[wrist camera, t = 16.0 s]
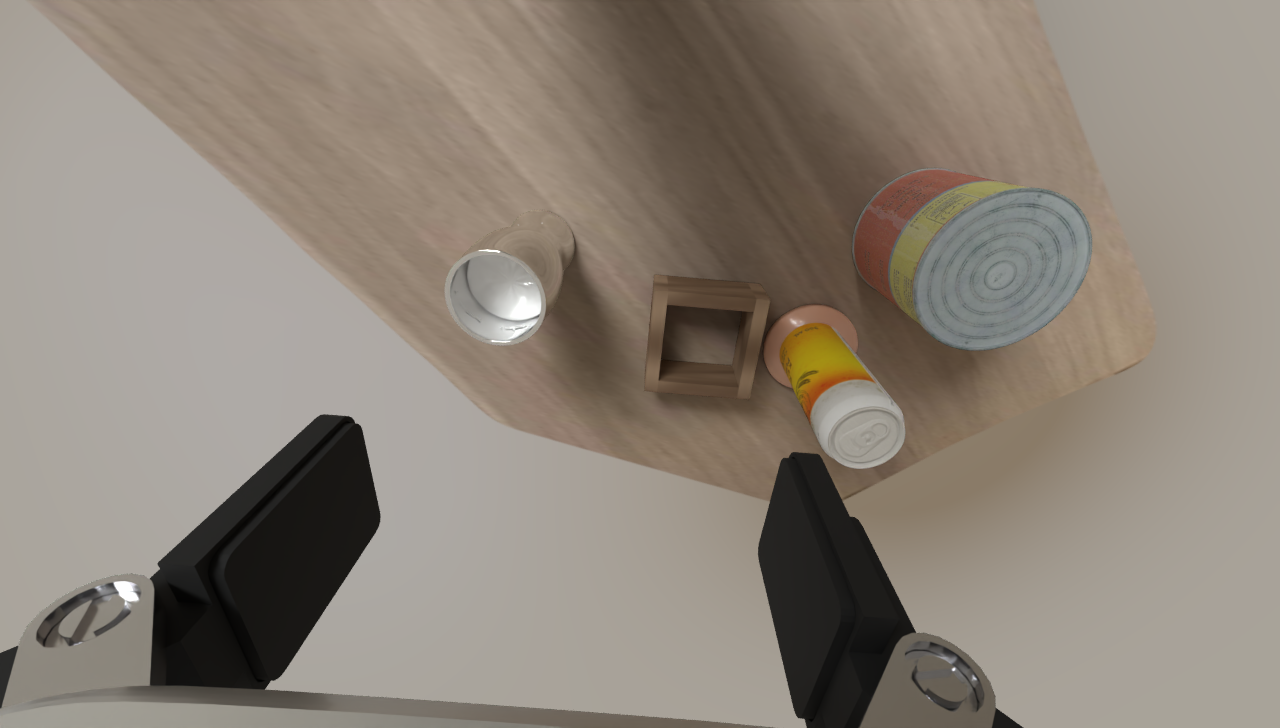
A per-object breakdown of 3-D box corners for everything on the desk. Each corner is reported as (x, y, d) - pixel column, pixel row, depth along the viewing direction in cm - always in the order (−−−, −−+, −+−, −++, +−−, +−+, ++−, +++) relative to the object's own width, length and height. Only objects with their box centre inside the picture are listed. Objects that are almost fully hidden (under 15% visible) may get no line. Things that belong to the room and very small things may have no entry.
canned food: (968, 291, 46) (1063, 345, 36) (845, 300, 47) (902, 356, 36) (997, 162, 41) (1118, 180, 30) (859, 174, 42) (929, 196, 31)
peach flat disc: (772, 300, 47) (774, 303, 46) (866, 308, 47) (869, 311, 46) (755, 382, 51) (756, 386, 50) (841, 389, 51) (843, 393, 51)
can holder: (654, 274, 46) (654, 290, 42) (760, 283, 46) (770, 300, 42) (645, 368, 51) (644, 391, 47) (741, 376, 51) (749, 399, 47)
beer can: (764, 346, 48) (806, 437, 35) (817, 306, 46) (882, 387, 33) (800, 385, 50) (852, 486, 37) (852, 349, 48) (927, 442, 35)
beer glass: (593, 261, 46) (568, 324, 32) (529, 292, 47) (480, 364, 34) (555, 190, 43) (512, 227, 30) (488, 225, 44) (418, 275, 31)
